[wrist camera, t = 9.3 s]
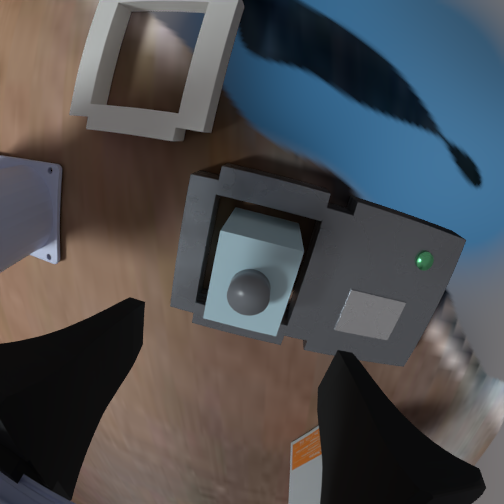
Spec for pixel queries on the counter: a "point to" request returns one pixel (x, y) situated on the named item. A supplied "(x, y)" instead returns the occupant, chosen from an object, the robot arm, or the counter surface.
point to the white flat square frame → (198, 80)
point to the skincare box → (306, 469)
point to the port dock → (329, 266)
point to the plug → (254, 271)
